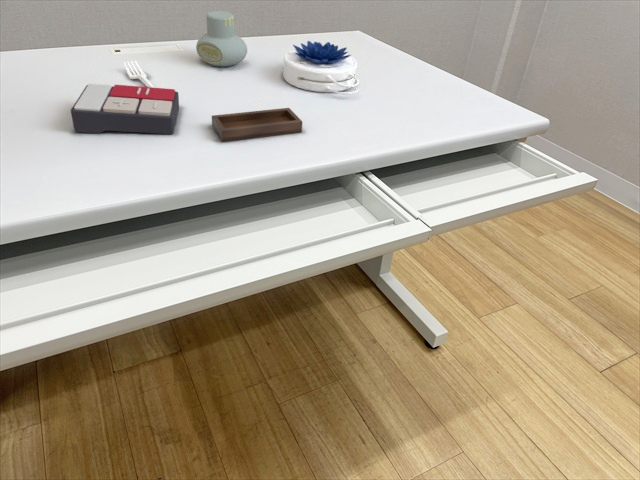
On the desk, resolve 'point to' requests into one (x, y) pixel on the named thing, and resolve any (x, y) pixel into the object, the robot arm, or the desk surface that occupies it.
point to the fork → (140, 76)
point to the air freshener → (221, 41)
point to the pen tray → (256, 124)
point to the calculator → (125, 109)
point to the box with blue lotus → (320, 68)
